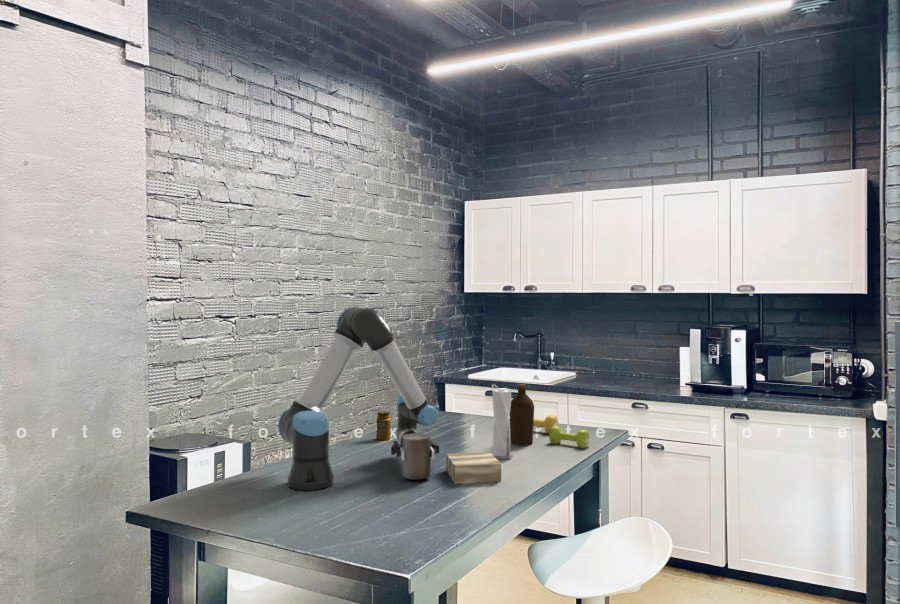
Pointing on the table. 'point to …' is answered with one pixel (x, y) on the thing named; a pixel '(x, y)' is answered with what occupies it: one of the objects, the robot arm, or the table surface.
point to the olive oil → (521, 418)
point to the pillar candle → (416, 456)
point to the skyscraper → (501, 423)
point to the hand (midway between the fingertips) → (418, 455)
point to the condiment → (383, 427)
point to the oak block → (473, 467)
